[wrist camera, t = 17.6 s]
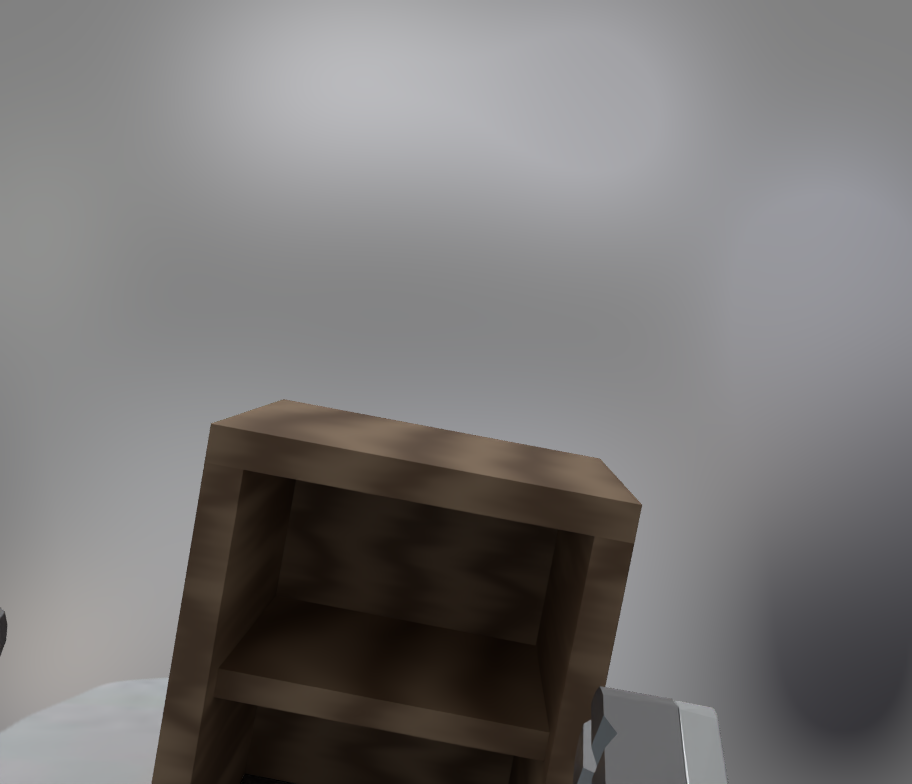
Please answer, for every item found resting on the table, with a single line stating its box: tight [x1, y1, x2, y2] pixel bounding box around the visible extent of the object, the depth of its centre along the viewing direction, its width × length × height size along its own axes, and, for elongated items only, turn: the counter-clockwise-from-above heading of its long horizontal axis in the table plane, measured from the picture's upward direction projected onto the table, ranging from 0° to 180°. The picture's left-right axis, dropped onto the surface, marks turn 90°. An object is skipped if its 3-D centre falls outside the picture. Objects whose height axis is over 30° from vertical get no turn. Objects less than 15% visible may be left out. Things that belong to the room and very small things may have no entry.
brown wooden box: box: [152, 400, 642, 784], centre depth 53 cm, size 22×16×26 cm
